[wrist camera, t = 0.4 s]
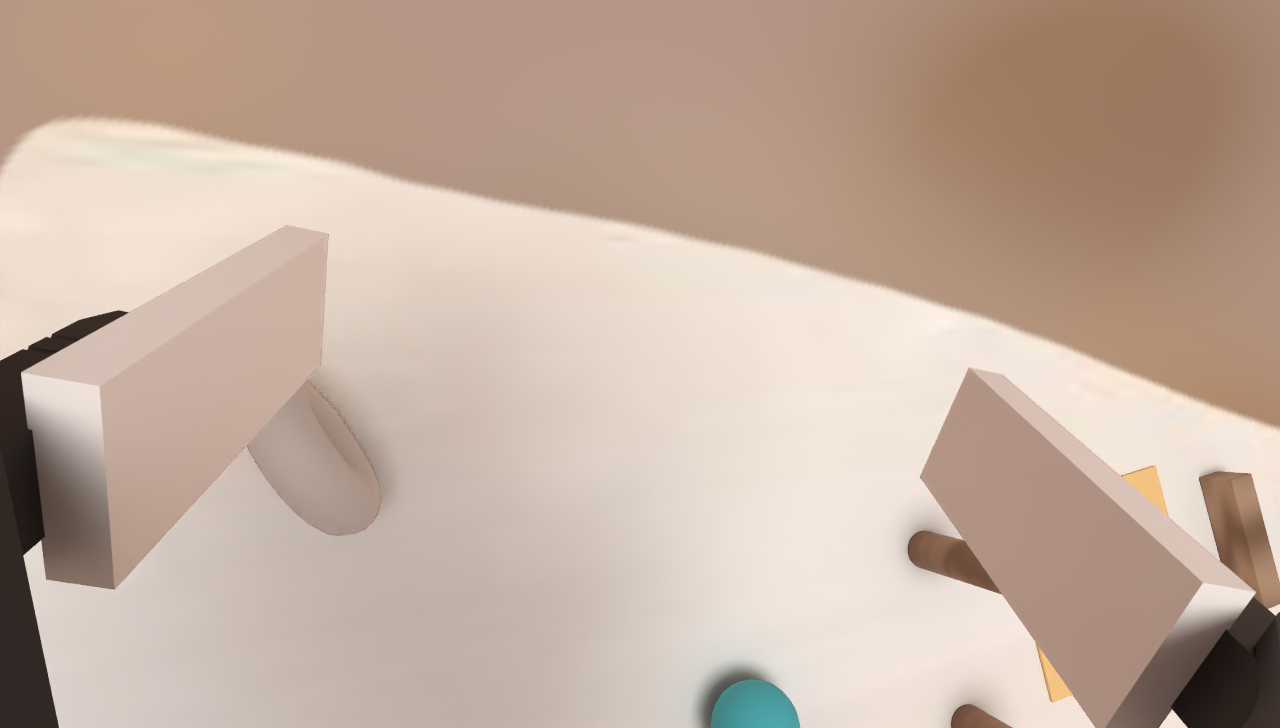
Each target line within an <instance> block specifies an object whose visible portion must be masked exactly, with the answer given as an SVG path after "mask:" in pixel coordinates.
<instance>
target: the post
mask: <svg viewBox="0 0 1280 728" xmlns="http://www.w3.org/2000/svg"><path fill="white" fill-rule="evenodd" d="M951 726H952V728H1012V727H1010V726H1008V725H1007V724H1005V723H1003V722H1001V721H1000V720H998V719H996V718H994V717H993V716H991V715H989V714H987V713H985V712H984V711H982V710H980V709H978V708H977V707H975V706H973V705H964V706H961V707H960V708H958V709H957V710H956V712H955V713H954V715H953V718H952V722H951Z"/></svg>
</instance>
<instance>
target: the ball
mask: <svg viewBox="0 0 1280 728" xmlns="http://www.w3.org/2000/svg"><path fill="white" fill-rule="evenodd" d="M711 728H800V724H799V719H798V715H797V712H796V710H795V708H794V706H793V704H792V702H791V701H790V699H789V698H788V697H787V696H786V695H785V693H784V692H782V691H781V690H780V689H779V688H777V687H776V686H774V685H773V684H771V683H768V682H765V681H762V680H757V679H748V680H743V681H739V682H737V683H735V684H733V685H731V686H730V687H728V688H727V689H726V690H725V691H724V692H723V693H722V694H721V695H720V697H719V698H718V700H717V702H716V704H715V706H714V709H713V712H712V717H711Z"/></svg>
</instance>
